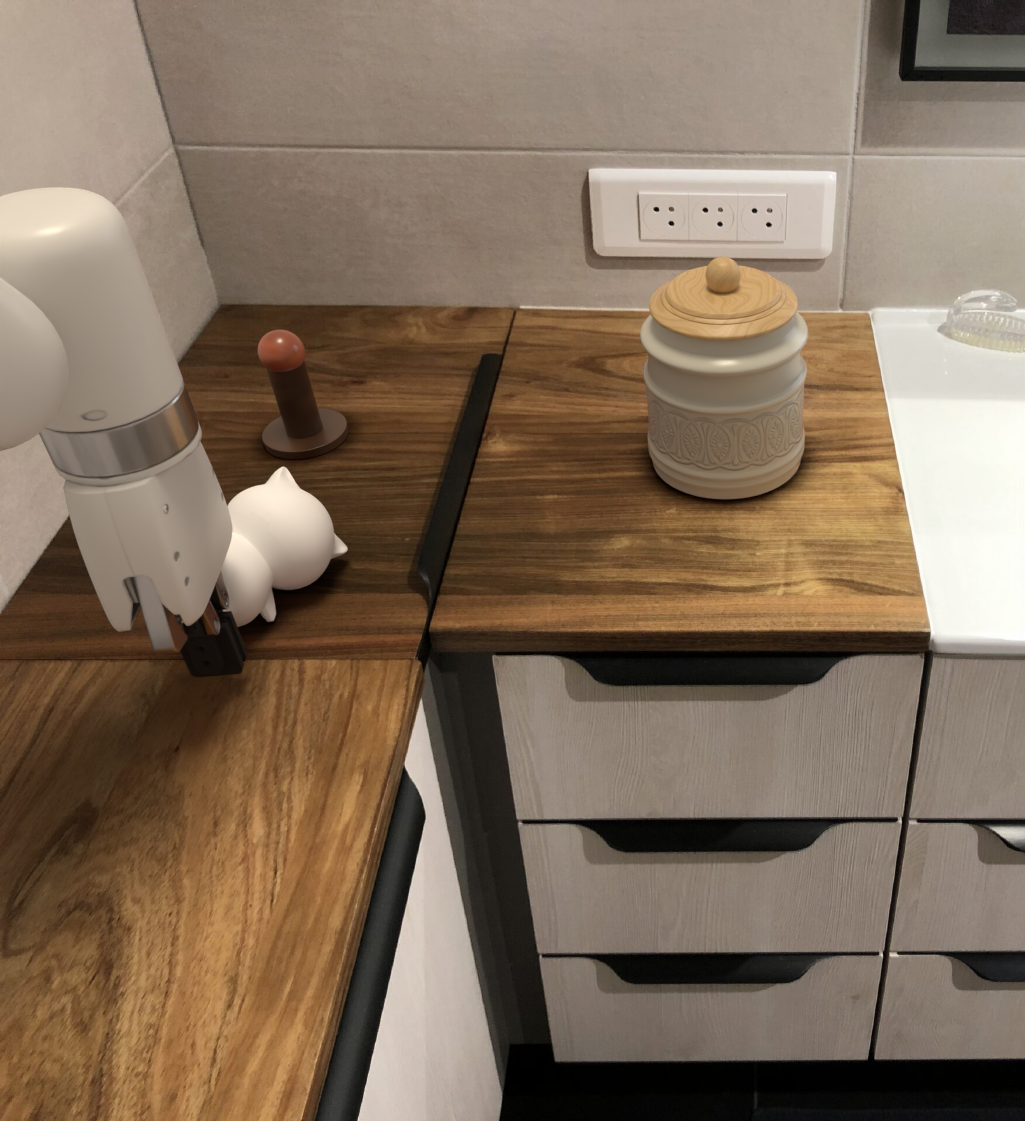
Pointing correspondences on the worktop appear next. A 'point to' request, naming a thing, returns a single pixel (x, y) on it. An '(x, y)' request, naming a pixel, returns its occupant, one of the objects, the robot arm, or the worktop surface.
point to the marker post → (296, 403)
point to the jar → (725, 381)
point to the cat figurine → (275, 545)
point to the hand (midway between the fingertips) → (220, 666)
